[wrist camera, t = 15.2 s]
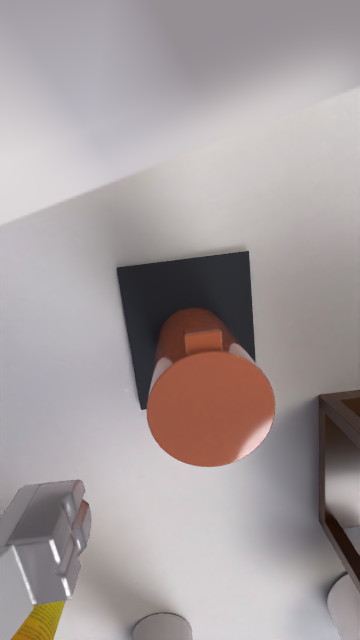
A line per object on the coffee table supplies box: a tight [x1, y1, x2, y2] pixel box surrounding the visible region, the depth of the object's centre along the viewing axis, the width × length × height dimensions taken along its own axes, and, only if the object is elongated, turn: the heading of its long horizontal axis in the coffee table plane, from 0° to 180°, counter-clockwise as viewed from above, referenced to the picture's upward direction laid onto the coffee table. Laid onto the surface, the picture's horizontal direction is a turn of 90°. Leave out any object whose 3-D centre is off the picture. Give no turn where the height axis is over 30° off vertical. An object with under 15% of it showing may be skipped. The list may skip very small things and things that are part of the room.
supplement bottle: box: [11, 601, 65, 640], centre depth 22 cm, size 6×6×10 cm
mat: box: [117, 251, 256, 410], centre depth 22 cm, size 12×10×1 cm
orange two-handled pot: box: [147, 308, 275, 467], centre depth 17 cm, size 8×6×10 cm
